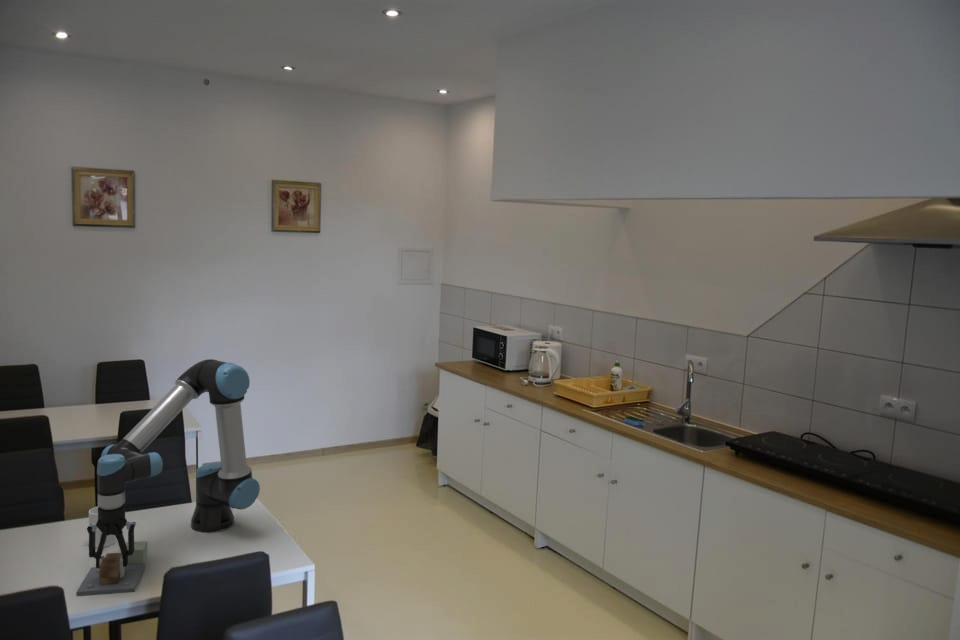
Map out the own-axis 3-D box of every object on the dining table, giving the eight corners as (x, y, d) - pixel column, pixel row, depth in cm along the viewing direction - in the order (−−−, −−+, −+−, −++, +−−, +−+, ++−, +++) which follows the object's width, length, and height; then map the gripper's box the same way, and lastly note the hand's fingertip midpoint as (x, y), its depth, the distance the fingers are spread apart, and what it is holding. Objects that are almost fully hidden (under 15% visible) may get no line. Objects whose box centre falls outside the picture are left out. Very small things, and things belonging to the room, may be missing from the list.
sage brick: (147, 558, 239) (147, 541, 238) (143, 567, 233) (143, 549, 232) (126, 559, 238) (126, 542, 237) (121, 568, 231) (121, 550, 231)
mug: (111, 551, 243) (111, 517, 241) (83, 553, 240) (82, 519, 239) (118, 536, 254) (117, 504, 253) (91, 538, 251) (90, 505, 250)
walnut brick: (124, 570, 227) (124, 552, 227) (117, 583, 219) (117, 565, 218) (107, 571, 226) (106, 553, 225) (99, 585, 218) (99, 566, 217)
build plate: (145, 567, 232) (145, 563, 232) (134, 591, 217) (134, 587, 217) (91, 570, 228) (91, 566, 228) (76, 595, 213) (76, 591, 213)
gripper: (145, 499, 226) (146, 569, 228) (82, 501, 221) (83, 573, 224) (140, 508, 218) (141, 580, 221) (75, 511, 214) (76, 584, 217)
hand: (112, 576), depth 222 cm, fingers closed on walnut brick, 5 cm apart
